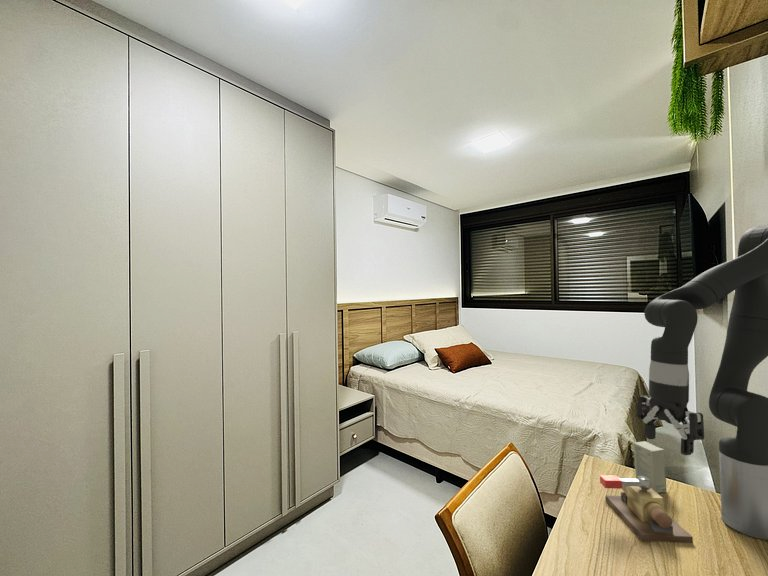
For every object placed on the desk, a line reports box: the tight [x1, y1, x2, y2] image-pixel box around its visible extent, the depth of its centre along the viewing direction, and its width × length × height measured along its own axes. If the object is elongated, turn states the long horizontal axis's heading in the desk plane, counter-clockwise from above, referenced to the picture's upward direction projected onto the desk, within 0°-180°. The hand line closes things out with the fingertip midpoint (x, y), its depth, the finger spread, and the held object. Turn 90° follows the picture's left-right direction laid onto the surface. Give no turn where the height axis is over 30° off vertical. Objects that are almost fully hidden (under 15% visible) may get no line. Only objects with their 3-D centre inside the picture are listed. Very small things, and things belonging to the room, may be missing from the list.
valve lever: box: [599, 474, 651, 490], centre depth 85 cm, size 11×3×2 cm, turn 84°
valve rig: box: [605, 486, 694, 544], centre depth 85 cm, size 15×11×8 cm
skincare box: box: [633, 440, 668, 494], centre depth 99 cm, size 6×4×12 cm
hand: (667, 446), depth 82 cm, fingers open, 8 cm apart
